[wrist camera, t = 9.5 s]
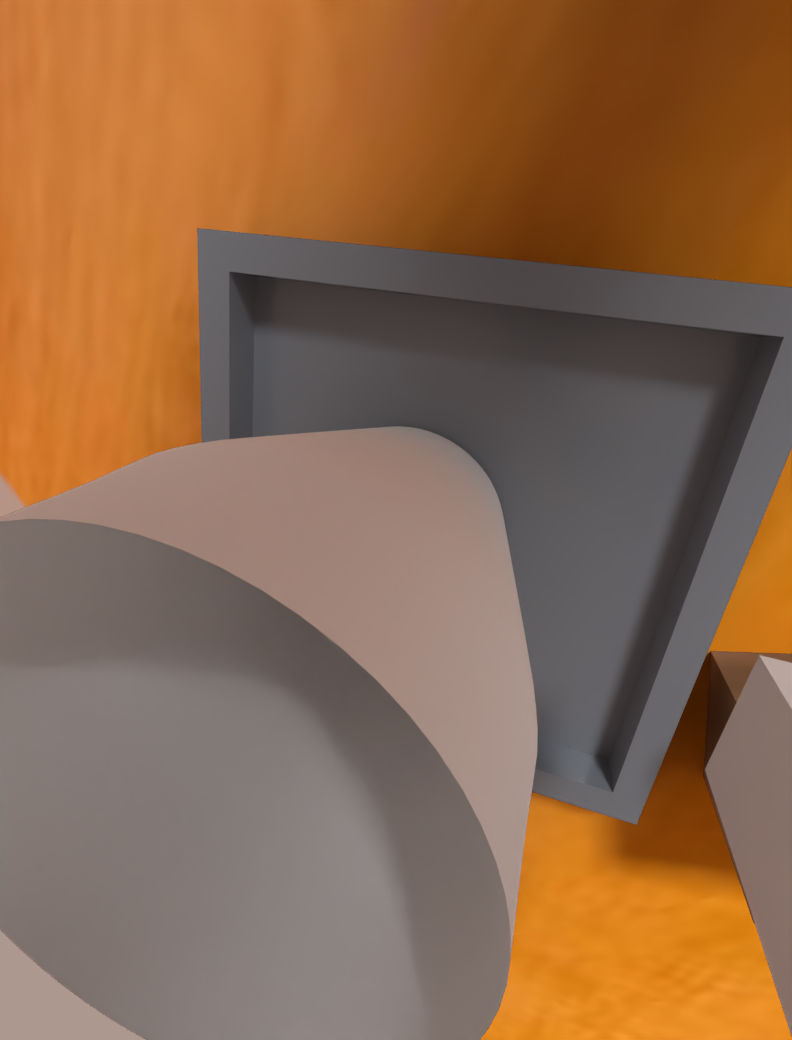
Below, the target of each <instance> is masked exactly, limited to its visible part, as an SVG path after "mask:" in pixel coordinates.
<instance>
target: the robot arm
mask: <svg viewBox="0 0 792 1040" xmlns="http://www.w3.org/2000/svg"><path fill="white" fill-rule="evenodd" d="M705 772H706V775H707V778H708V781H709V784H710V787H711V790H712V793H713V796H714V799H715V802H716V805H717V808H718V812H719V815H720V818H721V821H722V824H723V827H724V830H725V833H726V836H727V839H728V842H729V845H730V848H731V851H732V855H733V858H734V861H735V864H736V867H737V870H738V873H739V876H740V879H741V882H742V885H743V888H744V891H745V894H746V898H747V901H748V904H749V907H750V910H751V913H752V916H753V919H754V922H755V925H756V928H757V931H758V934H759V937H760V941H761V944H762V947H763V950H764V953H765V956H766V959H767V962H768V965H769V968H770V971H771V974H772V977H773V980H774V983H775V987H776V990H777V993H778V996H779V999H780V1002H781V1005H782V1008H783V1011H784V1014H785V1017H786V1020H787V1023H788V1026H789V1030H790V1033H791V1036H792V663H790V662H786V661H782V660H778V659H774V658H770V657H765V656H761V655H759V656H758V658H757V660H756V663H755V665H754V667H753V669H752V671H751V673H750V675H749V677H748V679H747V682H746V684H745V686H744V688H743V690H742V692H741V694H740V696H739V699H738V701H737V703H736V705H735V707H734V709H733V711H732V713H731V715H730V718H729V720H728V722H727V724H726V726H725V728H724V730H723V732H722V734H721V737H720V739H719V741H718V743H717V745H716V747H715V749H714V751H713V753H712V756H711V758H710V760H709V762H708V764H707V766H706V768H705Z"/></svg>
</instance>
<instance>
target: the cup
mask: <svg viewBox="0 0 792 1040" xmlns="http://www.w3.org/2000/svg"><path fill="white" fill-rule="evenodd" d="M537 739H538V727H537V714H536V703H535V694H534V684H533V678H532V672H531V667H530V661H529V655H528V649H527V644H526V638H525V632H524V627H523V621H522V616H521V610H520V605H519V599H518V594H517V588H516V583H515V577H514V572H513V566H512V561H511V555H510V550H509V544H508V539H507V534H506V528H505V523H504V517H503V512H502V508H501V504H500V501H499V498H498V495H497V493H496V490H495V488H494V486H493V484H492V482H491V481H490V479H489V477H488V476H487V474H486V473H485V472H484V470H483V469H482V467H481V466H480V465H479V464H478V463H477V462H476V461H475V459H473V458H472V457H471V456H470V455H469V454H468V453H467V452H466V451H465V450H463V449H462V448H461V447H459V446H458V445H456V444H455V443H453V442H452V441H450V440H448V439H446V438H444V437H442V436H440V435H438V434H435V433H432V432H430V431H426V430H423V429H419V428H413V427H403V426H392V427H377V428H364V429H351V430H338V431H325V432H312V433H299V434H286V435H273V436H261V437H250V438H238V439H226V440H217V441H211V442H204V443H197V444H192V445H187V446H181V447H177V448H173V449H169V450H166V451H162V452H158V453H155V454H152V455H150V456H147V457H145V458H143V459H140V460H138V461H135V462H133V463H131V464H129V465H126V466H124V467H122V468H120V469H117V470H115V471H113V472H111V473H109V474H107V475H104V476H102V477H100V478H98V479H96V480H93V481H91V482H88V483H86V484H83V485H81V486H79V487H76V488H74V489H71V490H69V491H66V492H64V493H61V494H59V495H56V496H54V497H51V498H48V499H46V500H43V501H41V502H38V503H35V504H33V505H30V506H28V507H25V508H22V509H20V510H17V511H15V512H12V513H9V514H7V515H4V516H2V517H0V930H1V931H2V932H3V933H4V934H5V935H6V936H7V937H8V938H9V939H10V940H11V941H12V942H13V943H14V944H15V945H16V946H17V947H19V949H20V950H22V951H23V952H24V953H25V954H26V955H27V956H28V957H29V958H31V959H32V960H33V961H34V962H35V963H36V964H37V965H39V966H40V967H41V968H42V969H43V970H45V971H46V972H47V973H48V974H49V975H51V976H52V977H53V978H54V979H56V980H57V981H58V982H59V983H60V984H62V985H63V986H64V987H66V988H67V989H69V990H70V991H71V992H72V993H74V994H75V995H76V996H78V997H79V998H81V999H82V1000H83V1001H85V1002H86V1003H88V1004H89V1005H90V1006H92V1007H93V1008H95V1009H97V1010H98V1011H99V1012H101V1013H102V1014H104V1015H105V1016H107V1017H109V1018H110V1019H112V1020H113V1021H115V1022H117V1023H118V1024H120V1025H121V1026H123V1027H125V1028H126V1029H128V1030H130V1031H131V1032H133V1033H135V1034H137V1035H139V1036H141V1037H142V1038H144V1039H146V1040H480V1039H481V1038H482V1036H483V1035H484V1034H485V1033H486V1031H487V1030H488V1028H489V1026H490V1025H491V1023H492V1021H493V1019H494V1017H495V1015H496V1013H497V1011H498V1009H499V1007H500V1004H501V1001H502V998H503V994H504V991H505V988H506V985H507V979H508V972H509V965H510V958H511V950H512V941H513V933H514V924H515V916H516V907H517V899H518V890H519V882H520V873H521V865H522V857H523V849H524V841H525V834H526V826H527V818H528V812H529V806H530V800H531V794H532V787H533V780H534V773H535V766H536V759H537Z"/></svg>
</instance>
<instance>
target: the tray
mask: <svg viewBox="0 0 792 1040" xmlns="http://www.w3.org/2000/svg"><path fill="white" fill-rule="evenodd" d="M197 232H198V280H199V327H200V375H201V422H202V443H204V442H211V441H217V440H226V439H238V438H250V437H261V436H273V435H286V434H299V433H312V432H325V431H338V430H351V429H364V428H377V427H392V426H403V427H413V428H419V429H423V430H426V431H430V432H432V433H435V434H438V435H440V436H442V437H444V438H446V439H448V440H450V441H452V442H453V443H455V444H456V445H458V446H459V447H461V448H462V449H463V450H465V451H466V452H467V453H468V454H469V455H470V456H471V457H472V458H473V459H475V461H476V462H477V463H478V464H479V465H480V466H481V467H482V469H483V470H484V472H485V473H486V474H487V476H488V477H489V479H490V481H491V482H492V484H493V486H494V488H495V490H496V493H497V495H498V498H499V501H500V504H501V508H502V512H503V517H504V523H505V528H506V534H507V539H508V544H509V550H510V555H511V561H512V566H513V572H514V577H515V583H516V588H517V594H518V599H519V605H520V610H521V616H522V621H523V627H524V632H525V638H526V644H527V649H528V655H529V661H530V667H531V672H532V678H533V684H534V694H535V703H536V714H537V727H538V739H537V759H536V766H535V773H534V780H533V787H532V792H534V793H538V794H541V795H544V796H547V797H550V798H553V799H557V800H560V801H563V802H566V803H569V804H572V805H575V806H579V807H582V808H585V809H588V810H591V811H594V812H598V813H601V814H604V815H607V816H610V817H613V818H616V819H620V820H623V821H626V822H629V823H632V824H635V825H637V822H638V820H639V817H640V815H641V813H642V810H643V808H644V805H645V803H646V800H647V798H648V796H649V793H650V791H651V788H652V786H653V783H654V781H655V779H656V776H657V774H658V771H659V769H660V766H661V764H662V762H663V759H664V757H665V754H666V752H667V749H668V747H669V745H670V742H671V740H672V737H673V735H674V732H675V730H676V728H677V725H678V723H679V720H680V718H681V715H682V713H683V711H684V708H685V706H686V703H687V701H688V698H689V696H690V694H691V691H692V689H693V686H694V684H695V681H696V679H697V677H698V674H699V672H700V669H701V667H702V664H703V662H704V660H705V657H706V655H707V652H708V650H709V647H710V645H711V643H712V640H713V638H714V635H715V633H716V630H717V628H718V626H719V623H720V621H721V618H722V616H723V613H724V611H725V609H726V606H727V604H728V601H729V599H730V596H731V594H732V592H733V589H734V587H735V584H736V582H737V579H738V577H739V575H740V572H741V570H742V567H743V565H744V562H745V560H746V558H747V555H748V553H749V550H750V548H751V545H752V543H753V541H754V538H755V536H756V533H757V531H758V528H759V526H760V524H761V521H762V519H763V516H764V514H765V511H766V509H767V507H768V504H769V502H770V499H771V497H772V494H773V492H774V490H775V487H776V485H777V482H778V480H779V477H780V475H781V473H782V470H783V468H784V465H785V463H786V460H787V458H788V456H789V453H790V451H791V448H792V287H783V286H773V285H763V284H753V283H743V282H732V281H722V280H712V279H702V278H692V277H682V276H672V275H662V274H652V273H642V272H632V271H622V270H612V269H602V268H592V267H582V266H572V265H562V264H551V263H541V262H531V261H521V260H511V259H501V258H491V257H481V256H471V255H461V254H451V253H441V252H431V251H421V250H411V249H401V248H391V247H381V246H371V245H360V244H350V243H340V242H330V241H320V240H310V239H300V238H290V237H280V236H270V235H260V234H250V233H240V232H230V231H220V230H210V229H200V228H197Z"/></svg>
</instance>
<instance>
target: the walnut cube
mask: <svg viewBox="0 0 792 1040" xmlns="http://www.w3.org/2000/svg"><path fill="white" fill-rule="evenodd" d="M759 655H761V656H765V657H770V658H774V659H778V660H782V661H786V662H790V663H792V654H781V653H752V652H723V651H711V657H710V674H709V691H708V708H707V725H706V742H705V759H704V779H705V782H706V785H707V788H708V791H709V794H710V797H711V800H712V803H713V806H714V809H715V811H716V814H717V817H718V820H719V823H720V826H721V829H722V832H723V835H724V838H725V841H726V844H727V846H728V849H729V852H730V855H731V858H732V861H733V864H734V867H735V870H736V873H737V876H738V879H739V881H740V884H741V887H742V890H743V893H744V896H745V899H746V902H747V905H748V908H749V911H750V914H751V917H752V919H753V916H752V913H751V910H750V907H749V904H748V901H747V898H746V894H745V891H744V888H743V885H742V882H741V879H740V876H739V873H738V870H737V867H736V864H735V861H734V858H733V855H732V851H731V848H730V845H729V842H728V839H727V836H726V833H725V830H724V827H723V824H722V821H721V818H720V815H719V812H718V808H717V805H716V802H715V799H714V796H713V793H712V790H711V787H710V784H709V781H708V778H707V775H706V772H705V768H706V766H707V764H708V762H709V760H710V758H711V756H712V753H713V751H714V749H715V747H716V745H717V743H718V741H719V739H720V737H721V734H722V732H723V730H724V728H725V726H726V724H727V722H728V720H729V718H730V715H731V713H732V711H733V709H734V707H735V705H736V703H737V701H738V699H739V696H740V694H741V692H742V690H743V688H744V686H745V684H746V682H747V679H748V677H749V675H750V673H751V671H752V669H753V667H754V665H755V663H756V660H757V658H758V656H759ZM753 922H754V919H753ZM754 923H755V922H754Z"/></svg>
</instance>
